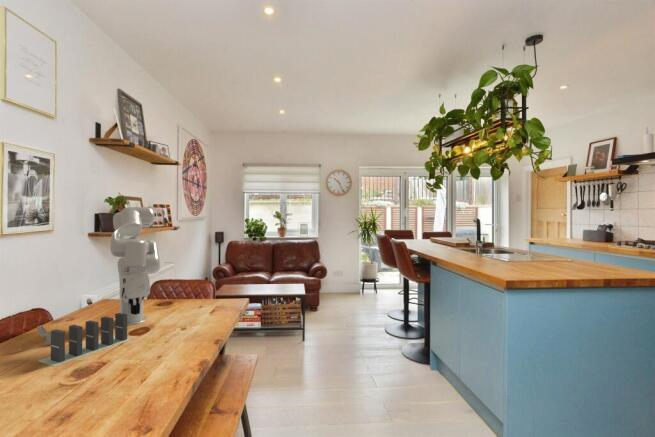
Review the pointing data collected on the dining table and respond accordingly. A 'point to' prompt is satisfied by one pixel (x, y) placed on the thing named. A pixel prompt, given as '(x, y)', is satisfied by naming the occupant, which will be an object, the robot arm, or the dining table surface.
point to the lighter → (44, 334)
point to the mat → (84, 352)
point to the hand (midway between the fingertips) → (135, 313)
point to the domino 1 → (58, 345)
